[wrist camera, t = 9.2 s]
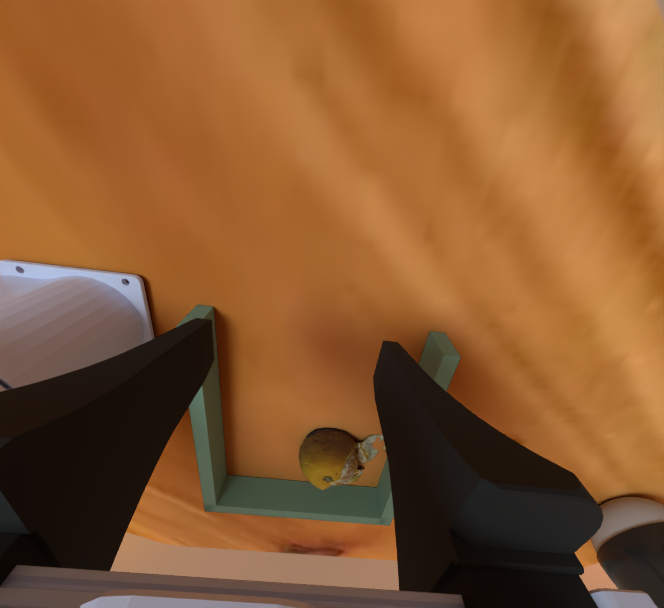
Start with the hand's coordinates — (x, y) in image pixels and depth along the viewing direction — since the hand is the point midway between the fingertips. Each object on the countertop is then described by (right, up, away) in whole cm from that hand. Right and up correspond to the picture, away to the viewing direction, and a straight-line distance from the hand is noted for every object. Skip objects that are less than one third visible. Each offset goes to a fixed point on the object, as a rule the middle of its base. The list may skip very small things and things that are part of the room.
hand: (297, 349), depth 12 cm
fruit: (+3, -13, +17) cm, 22 cm away
